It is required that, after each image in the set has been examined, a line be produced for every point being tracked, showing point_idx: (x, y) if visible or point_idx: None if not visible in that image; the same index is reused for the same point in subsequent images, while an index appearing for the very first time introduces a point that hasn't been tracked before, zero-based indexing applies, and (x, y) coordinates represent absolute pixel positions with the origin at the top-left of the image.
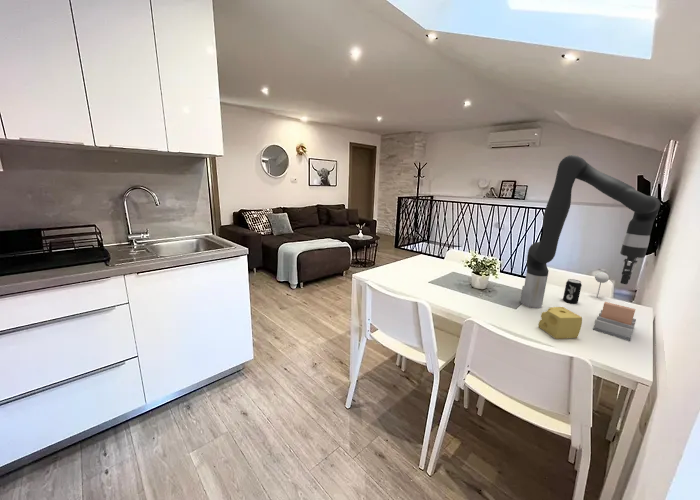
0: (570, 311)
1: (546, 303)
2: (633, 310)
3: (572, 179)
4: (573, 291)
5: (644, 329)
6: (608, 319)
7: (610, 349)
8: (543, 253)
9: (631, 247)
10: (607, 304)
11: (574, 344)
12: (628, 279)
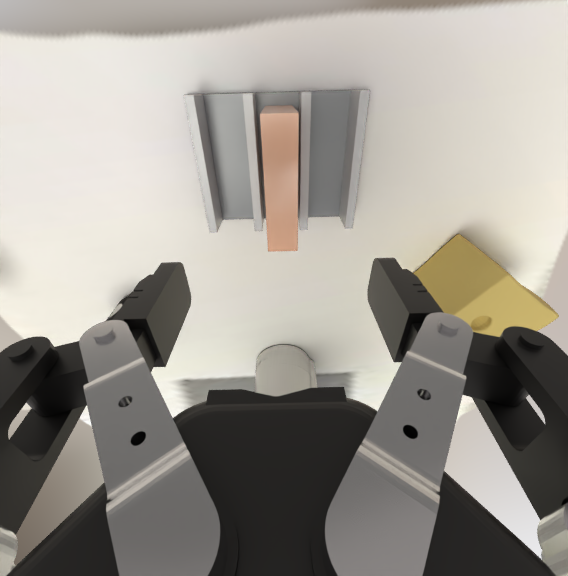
0: (465, 310)
1: (236, 343)
2: (297, 121)
3: None
4: None
5: (164, 48)
6: (306, 193)
7: (494, 138)
8: None
9: None
10: (297, 236)
11: (511, 229)
12: (413, 287)
